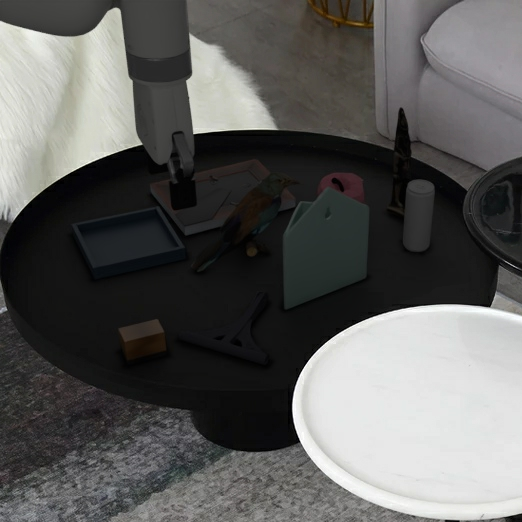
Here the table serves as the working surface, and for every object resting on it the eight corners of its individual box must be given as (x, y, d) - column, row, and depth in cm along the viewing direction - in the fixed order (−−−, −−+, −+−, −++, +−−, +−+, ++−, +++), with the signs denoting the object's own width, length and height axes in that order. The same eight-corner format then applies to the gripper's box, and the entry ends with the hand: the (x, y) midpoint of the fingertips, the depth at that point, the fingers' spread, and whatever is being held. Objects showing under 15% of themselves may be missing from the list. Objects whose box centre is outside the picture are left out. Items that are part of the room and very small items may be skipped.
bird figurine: (209, 285, 163) (257, 173, 157) (177, 259, 168) (223, 149, 163) (268, 296, 173) (315, 191, 167) (236, 271, 179) (281, 168, 173)
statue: (412, 226, 181) (420, 124, 168) (382, 212, 184) (388, 111, 171) (426, 218, 183) (435, 117, 170) (396, 203, 187) (403, 103, 174)
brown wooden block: (128, 365, 148) (124, 341, 145) (121, 352, 150) (117, 328, 147) (167, 355, 150) (164, 331, 147) (160, 342, 152) (157, 318, 149)
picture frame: (185, 237, 175) (295, 209, 183) (184, 225, 173) (295, 197, 182) (151, 194, 185) (256, 169, 194) (149, 182, 183) (256, 157, 192)
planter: (340, 255, 172) (342, 152, 160) (367, 278, 168) (372, 173, 155) (259, 286, 165) (255, 180, 152) (285, 310, 160) (283, 203, 147)
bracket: (305, 313, 160) (305, 298, 158) (264, 367, 149) (263, 352, 147) (225, 291, 163) (224, 277, 161) (179, 343, 153) (177, 328, 151)
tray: (94, 279, 164) (92, 268, 162) (73, 235, 173) (70, 223, 172) (186, 259, 170) (185, 247, 168) (160, 217, 179) (158, 205, 178)
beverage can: (420, 256, 173) (426, 196, 166) (397, 247, 175) (401, 187, 167) (434, 244, 177) (440, 184, 169) (411, 235, 178) (415, 176, 171)
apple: (363, 238, 177) (365, 189, 170) (314, 235, 177) (315, 186, 170) (365, 210, 184) (368, 162, 178) (319, 207, 184) (319, 159, 178)
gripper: (108, 38, 122) (124, 164, 133) (150, 96, 111) (164, 228, 122) (167, 30, 125) (179, 154, 136) (214, 86, 113) (222, 216, 125)
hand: (172, 189), depth 129 cm, fingers open, 9 cm apart
